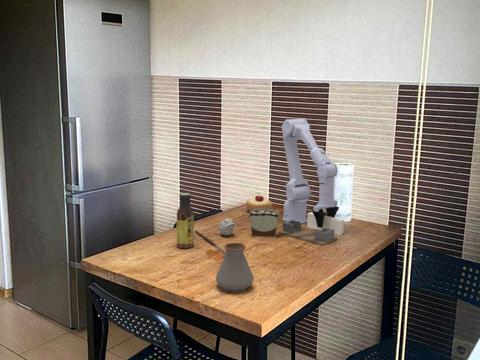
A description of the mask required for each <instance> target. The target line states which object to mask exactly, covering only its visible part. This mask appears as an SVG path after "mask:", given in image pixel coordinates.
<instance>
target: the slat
mask: <svg viewBox="0 0 480 360" xmlns="http://www.w3.org/2000/svg"><path fill="white" fill-rule="evenodd" d="M306 219H307V222H306V224H307V225H306V228H310V229H314V230H318V231H322V232H323V228H329V229H333V230H334V235H338V236H341V235H344V226H345V224H344V223H345V219H344V218H343V219H342V218H338V217H335V218H334V217H330V216H327V215H325V217H324V222H323V227H322V228H319V227H317V223H316V219H315V216H314V214H313V213H312V211H311V212H307V213H306Z"/></svg>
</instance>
